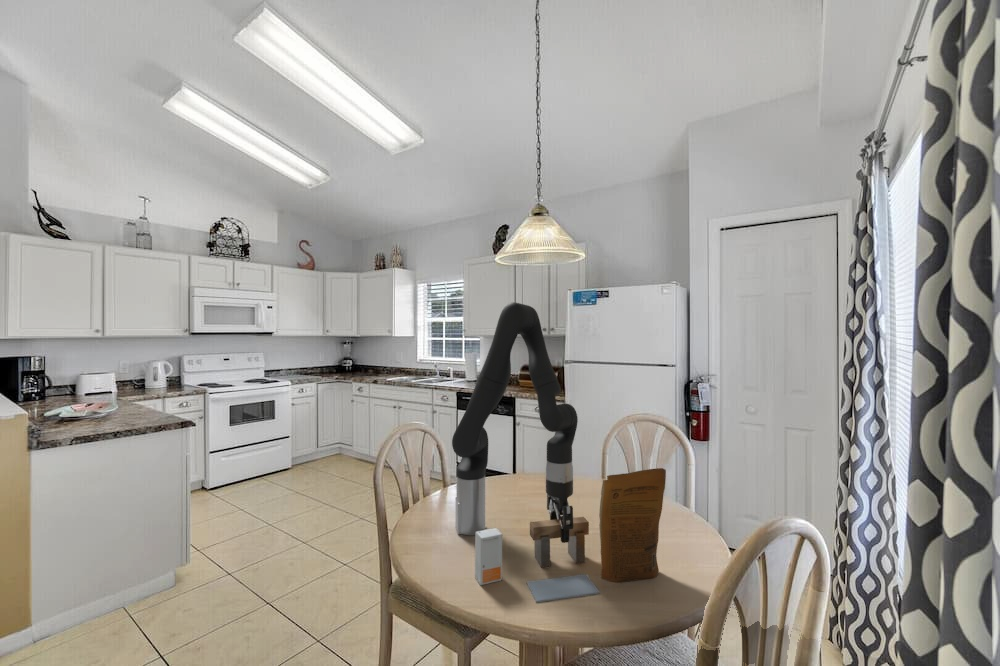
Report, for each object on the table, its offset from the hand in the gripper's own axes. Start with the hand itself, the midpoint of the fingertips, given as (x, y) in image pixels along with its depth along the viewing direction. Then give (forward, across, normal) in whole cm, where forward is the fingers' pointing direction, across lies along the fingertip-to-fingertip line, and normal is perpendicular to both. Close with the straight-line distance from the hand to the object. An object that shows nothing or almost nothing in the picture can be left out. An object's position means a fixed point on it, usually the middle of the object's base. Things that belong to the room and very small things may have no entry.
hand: (559, 534), depth 122 cm
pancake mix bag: (+7, +12, +15) cm, 21 cm away
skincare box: (+7, +5, -21) cm, 23 cm away
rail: (0, 0, 0) cm, 0 cm away
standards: (+7, 0, 0) cm, 7 cm away
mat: (+7, +13, -4) cm, 15 cm away
